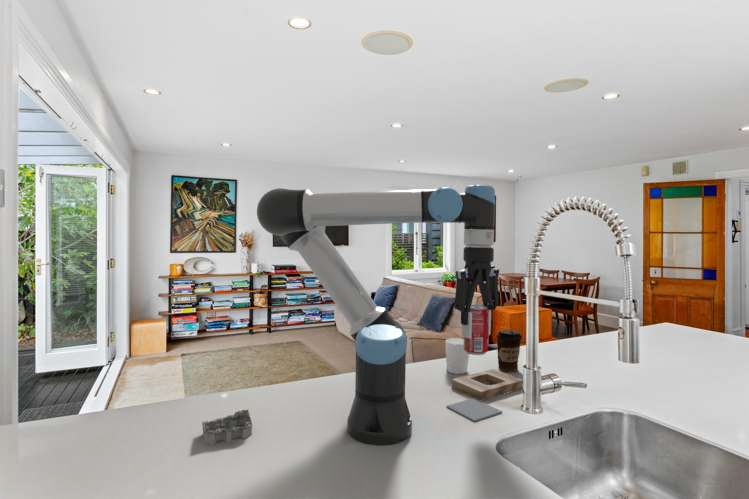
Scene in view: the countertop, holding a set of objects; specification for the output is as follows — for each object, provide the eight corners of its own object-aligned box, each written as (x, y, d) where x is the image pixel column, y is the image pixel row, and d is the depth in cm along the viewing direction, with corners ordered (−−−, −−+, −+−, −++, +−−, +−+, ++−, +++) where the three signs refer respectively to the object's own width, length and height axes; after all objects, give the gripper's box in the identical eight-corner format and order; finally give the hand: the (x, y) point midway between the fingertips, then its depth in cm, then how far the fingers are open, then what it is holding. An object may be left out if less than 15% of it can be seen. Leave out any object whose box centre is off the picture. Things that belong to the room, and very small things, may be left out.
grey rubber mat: (474, 421, 105) (474, 420, 105) (446, 407, 113) (446, 405, 113) (502, 412, 110) (502, 411, 110) (473, 399, 119) (473, 398, 119)
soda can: (463, 354, 108) (464, 308, 108) (463, 348, 115) (464, 303, 114) (489, 356, 107) (490, 309, 107) (487, 349, 114) (488, 304, 113)
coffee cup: (524, 374, 140) (526, 334, 139) (499, 373, 140) (500, 334, 140) (516, 365, 149) (517, 328, 148) (492, 365, 149) (493, 328, 148)
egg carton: (250, 425, 102) (250, 408, 102) (253, 439, 95) (253, 421, 95) (202, 431, 98) (202, 414, 98) (201, 447, 91) (201, 428, 91)
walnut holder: (480, 400, 118) (480, 391, 118) (451, 387, 127) (451, 379, 127) (523, 388, 128) (523, 380, 128) (493, 376, 137) (493, 369, 137)
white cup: (462, 376, 137) (463, 345, 137) (440, 371, 142) (441, 341, 141) (472, 370, 143) (473, 340, 143) (451, 365, 148) (452, 336, 148)
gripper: (461, 247, 101) (459, 343, 102) (515, 246, 112) (512, 334, 113) (440, 246, 108) (438, 336, 109) (493, 245, 118) (490, 328, 119)
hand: (476, 335), depth 111 cm, fingers closed on soda can, 6 cm apart
